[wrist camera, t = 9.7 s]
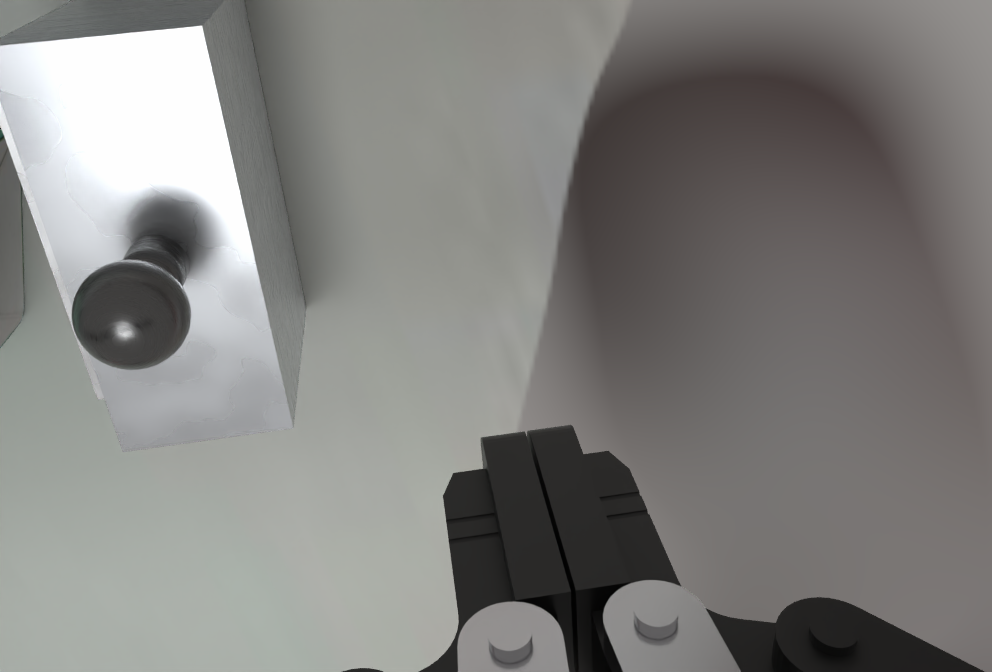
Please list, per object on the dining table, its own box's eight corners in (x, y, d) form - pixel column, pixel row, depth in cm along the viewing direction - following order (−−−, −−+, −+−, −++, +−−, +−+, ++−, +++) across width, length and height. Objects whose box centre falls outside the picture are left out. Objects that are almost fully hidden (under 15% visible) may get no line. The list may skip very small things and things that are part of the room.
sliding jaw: (156, 327, 33) (59, 556, 22) (57, 0, 27) (-139, 94, 16) (306, 308, 33) (282, 523, 22) (240, -18, 27) (167, 63, 17)
